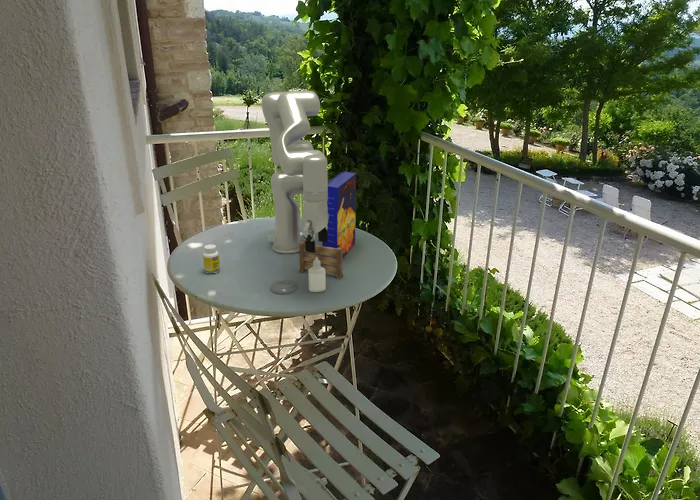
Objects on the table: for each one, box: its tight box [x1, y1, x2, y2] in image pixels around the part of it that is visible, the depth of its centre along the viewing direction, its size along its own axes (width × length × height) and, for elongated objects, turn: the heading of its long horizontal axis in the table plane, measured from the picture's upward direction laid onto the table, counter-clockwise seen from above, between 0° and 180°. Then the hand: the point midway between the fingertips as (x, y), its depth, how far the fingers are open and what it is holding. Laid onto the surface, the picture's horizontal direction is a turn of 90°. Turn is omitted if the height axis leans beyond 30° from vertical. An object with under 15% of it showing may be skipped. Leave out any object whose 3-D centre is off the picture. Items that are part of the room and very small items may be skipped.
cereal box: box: [321, 171, 357, 259], centre depth 191 cm, size 22×6×30 cm, turn 162°
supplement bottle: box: [202, 244, 221, 274], centre depth 179 cm, size 5×5×10 cm
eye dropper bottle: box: [307, 257, 327, 293], centre depth 166 cm, size 4×6×12 cm
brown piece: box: [298, 240, 344, 280], centre depth 177 cm, size 16×3×11 cm, turn 69°
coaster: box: [269, 280, 298, 295], centre depth 169 cm, size 9×9×1 cm
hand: (316, 246), depth 161 cm, fingers open, 9 cm apart
